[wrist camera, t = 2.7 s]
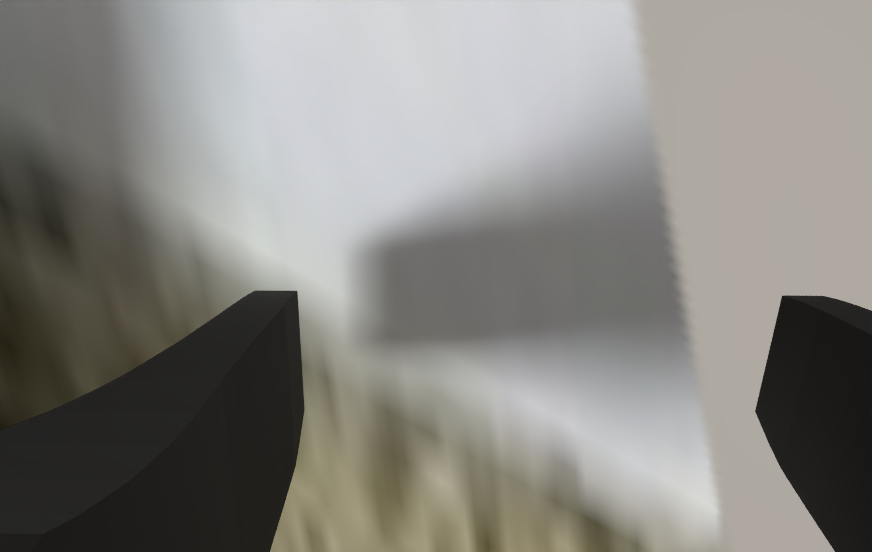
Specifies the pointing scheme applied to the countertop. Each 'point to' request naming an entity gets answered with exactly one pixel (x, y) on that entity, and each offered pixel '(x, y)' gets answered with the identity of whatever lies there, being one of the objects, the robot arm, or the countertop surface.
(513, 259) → the countertop surface
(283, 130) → the countertop surface
